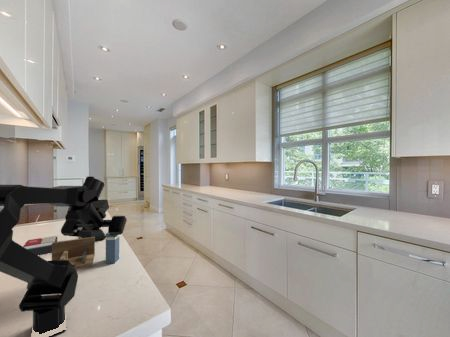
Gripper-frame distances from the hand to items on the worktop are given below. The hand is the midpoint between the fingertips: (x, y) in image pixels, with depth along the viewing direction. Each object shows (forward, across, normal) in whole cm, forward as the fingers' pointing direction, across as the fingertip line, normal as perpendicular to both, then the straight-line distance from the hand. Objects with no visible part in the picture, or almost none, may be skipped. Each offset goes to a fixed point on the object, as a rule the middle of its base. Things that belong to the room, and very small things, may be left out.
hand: (103, 236), depth 73 cm
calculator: (+24, +37, -5) cm, 45 cm away
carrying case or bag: (+33, +22, -14) cm, 42 cm away
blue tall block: (+14, 0, +4) cm, 15 cm away
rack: (+13, +14, +5) cm, 20 cm away
